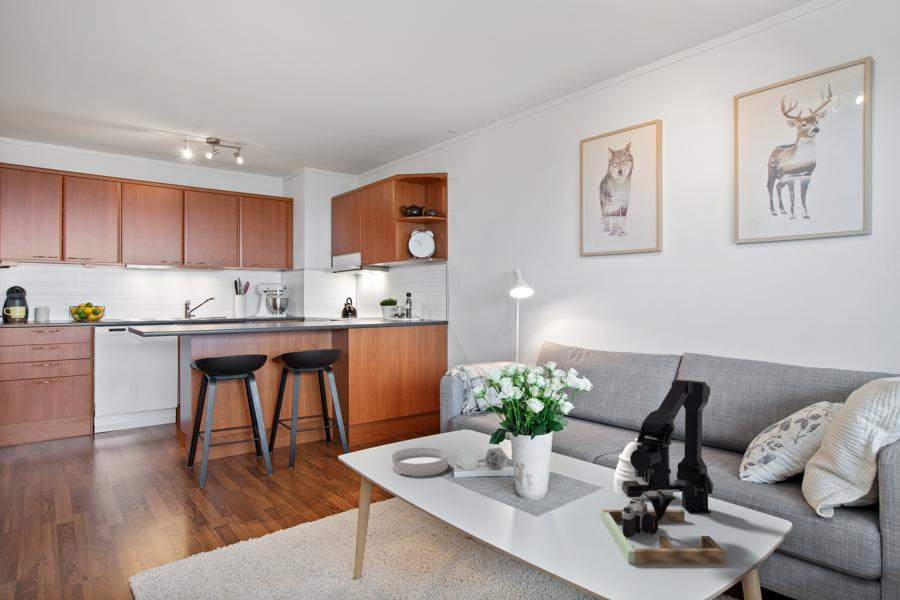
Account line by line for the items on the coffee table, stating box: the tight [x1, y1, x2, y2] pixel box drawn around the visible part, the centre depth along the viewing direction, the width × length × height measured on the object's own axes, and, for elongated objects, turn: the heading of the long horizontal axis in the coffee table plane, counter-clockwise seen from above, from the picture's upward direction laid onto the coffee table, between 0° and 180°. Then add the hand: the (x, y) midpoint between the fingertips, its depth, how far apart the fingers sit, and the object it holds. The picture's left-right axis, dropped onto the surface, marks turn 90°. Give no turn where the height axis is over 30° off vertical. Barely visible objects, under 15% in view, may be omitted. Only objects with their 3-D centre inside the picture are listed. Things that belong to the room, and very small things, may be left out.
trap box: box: [601, 509, 726, 564], centre depth 147 cm, size 24×26×3 cm
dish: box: [391, 447, 449, 477], centre depth 213 cm, size 22×22×5 cm
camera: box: [621, 498, 660, 540], centre depth 152 cm, size 13×8×9 cm, turn 143°
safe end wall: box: [601, 509, 636, 564], centre depth 147 cm, size 2×26×3 cm, turn 178°
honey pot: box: [613, 437, 648, 500], centre depth 183 cm, size 13×13×18 cm
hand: (659, 519), depth 150 cm, fingers closed
